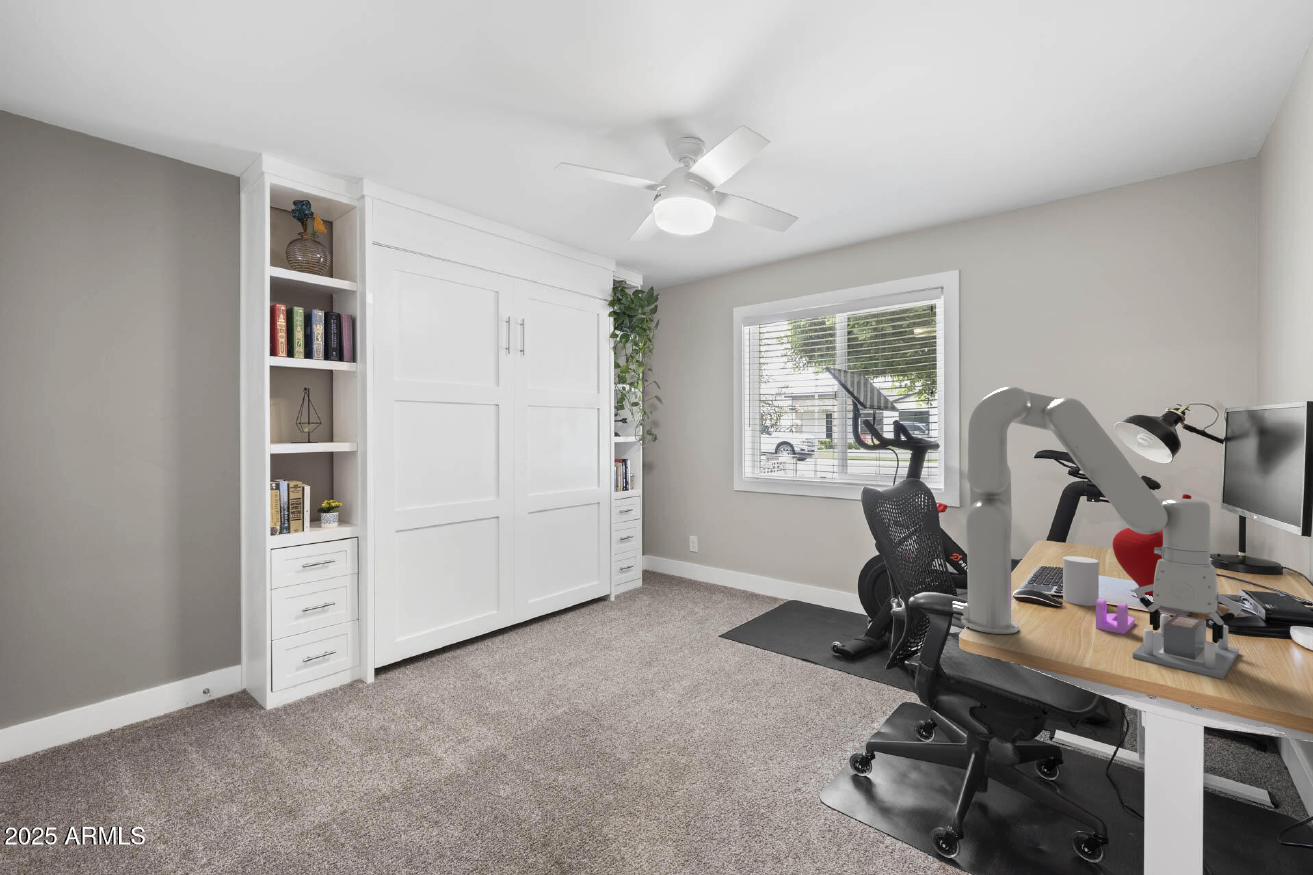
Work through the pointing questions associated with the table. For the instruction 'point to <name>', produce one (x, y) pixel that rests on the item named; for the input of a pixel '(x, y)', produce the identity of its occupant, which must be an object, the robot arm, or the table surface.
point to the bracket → (1113, 618)
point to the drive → (1184, 636)
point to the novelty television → (1139, 554)
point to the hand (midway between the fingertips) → (1185, 635)
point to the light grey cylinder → (1080, 580)
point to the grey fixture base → (1209, 662)
